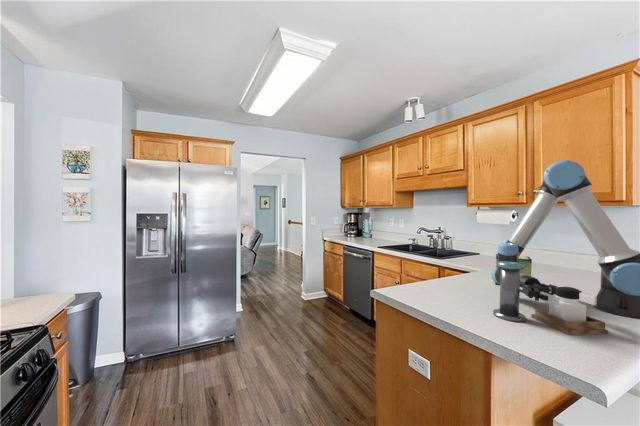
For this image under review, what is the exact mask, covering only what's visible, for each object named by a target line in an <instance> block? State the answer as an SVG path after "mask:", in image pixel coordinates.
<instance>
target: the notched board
mask: <svg viewBox="0 0 640 426" xmlns="http://www.w3.org/2000/svg"><path fill="white" fill-rule="evenodd" d="M530 317H531V318H532V319H534V320H536V321H538V322H541V323H542V324H545V325H547V326H549V327H552V328H554V329H555V330H557V331H559V332H561V333H564V334H566V335H569V336H570V335H571V336H572V335H576V336H578V335H608V334H609V330H608V329H606V322H605V321H602V320H599V319H597V318H594V317H591V316H588V315H586V322H567V321H565V320H563V319H560V318H558V317H556V316H553V315H551V314H549V312H546V311H543V310H541V309H539V308H535V309H534V314H533V313H531V314H530Z"/></svg>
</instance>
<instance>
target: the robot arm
mask: <svg viewBox="0 0 640 426" xmlns="http://www.w3.org/2000/svg"><path fill="white" fill-rule="evenodd" d="M592 187H593V184H592V182H591V180H590V179H589V178H588V177H587V175H586V171H585V168H584V167H583V166H582V165H581V164H580V163H578V162H576V161H575V160H570V159H569V160H568V159H563V160H558V161H556V162H554V163H552V164H550V165H549V166H547V168H546V169H545V171H544V173H543V180H542V183H541V185H540V187H539V188H538V190H537V192H538V194H537V196H536V197H535V199H534V201H532V203H531V204H530V206H529V208H528V209H527V211H526V212H525V214H524V215H523V217H522V218H521V219H520V221H519V223H518V224H517V225H516V227H515V229H514V230H513V232H512V233H511V234H510V236H509V238H508V239H507V241H505V242H499V243H498V244H497V254H498V262H499V261H508V262H516V263H518V258H519V256H521V254H522V253H523V252H524V250H525V249H526V247H527V246H528V245H529V243H530V242H531V240H532V238H533V237H534V236H535V235H536V233H537V231H538V230H539V229H540V228H541V226H542V224H543V223H544V222H545V220H546V219H547V217H548V216H549V215H550V213H551V212H552V210H553V209H554V207H556V205H557V203H558V202H560V201H562V202H564V204H565V206H566V207H567V209H568V210H569V213H570V214H571V215H572V217H573V218H574V219H575V221H576V223H577V224H578V225H579V227H580V229H581V230H582V232H583V234H584V235H585V237H586V238H587V240H588V241H589V242H590V244H591V246H592V247H593V248H594V250H595V252H596V253H597V255H598V256H599V257H598V259H597V261H596V262H597V264H598V265H599V267H600V268H601V269H600V289H599V291H598V292H597V295H596V297H595V296H592V295H589V294H587V293H583V292H582V290H579V289H578V288H576V289H577V290H579V291H580V294H579V301H578V302H583V303H586V304H588V305H589V304H590V305H592V306H593V307H594V308H596V309H597V310H600V311H603V312H605V313H608V314H609V313H610V314H613V315H616V316H623V317H627V318H633V319H635V318H636V319H640V251H638V250H635V249H633V248H630V246H629V244H628V243H627V242H626V241H625V239H624V237H623V236H622V234H621V233H620V232H619V230H618V229H617V227H616V226H615V224H614V223H613V222H612V220H611V219H610V217H609V216H608V214H607V213H606V212H605V210H604V209H603V208H602V206H601V204H600V203H599V202H598V200H597V199H596V197H595V196H594V194H593V193H592V191H591V189H592ZM500 274H501V267H498V265H497V268H495V267H494V269H493V270H492V272H491V278H492V280H493V282H494V283H495V282H496V283H498V284H500ZM558 286H559V285H555V284H554V285H553V284H546V283H542V282H541V281H540V280H539V279H538V278H536V277H535V276H532V275H531V276H527V275H524V274H521V273H520V293H521V294H524V295H525V296H526V297H527V298H529V299H533V298H534V301H536V302H537V301H538V302H539V301H540V300H541V301H543V302H546V303H548V304H549V303H551V304H554V305H556V306H559V297H556V287H558Z"/></svg>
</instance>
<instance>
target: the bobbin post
mask: <svg viewBox="0 0 640 426" xmlns="http://www.w3.org/2000/svg"><path fill="white" fill-rule="evenodd" d="M498 267H501V274H500V285H499V308H496V309H493V311H492V314H493V316H494V317H496V318H497V319H501V320H504V321H508V322H515V323H523V322H526V315H525V314H524V313H520V294H521V292H520V270H522V269H524V264H521V263H516V262H508V261H499V262H498Z"/></svg>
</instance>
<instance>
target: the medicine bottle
mask: <svg viewBox="0 0 640 426" xmlns="http://www.w3.org/2000/svg"><path fill="white" fill-rule="evenodd" d="M557 286H558V287H556V295H555V296H556V297H559V306H556V305H554V304H551V303H548V314H551V315H553V316H556V317H558V318H560V319H563V320H565V321H567V322H586V316H587V308H588V307H587V305H586V304H583V303H581V302H580V301H579V294H580V291H581V290H580V289H578V288H575V287H572V286H566V285H560V286H559V285H557ZM577 289H578V290H577Z"/></svg>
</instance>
